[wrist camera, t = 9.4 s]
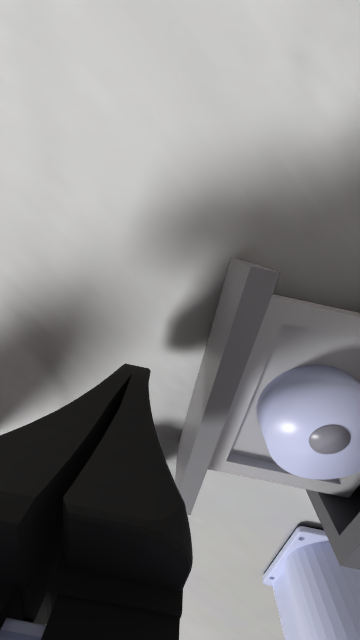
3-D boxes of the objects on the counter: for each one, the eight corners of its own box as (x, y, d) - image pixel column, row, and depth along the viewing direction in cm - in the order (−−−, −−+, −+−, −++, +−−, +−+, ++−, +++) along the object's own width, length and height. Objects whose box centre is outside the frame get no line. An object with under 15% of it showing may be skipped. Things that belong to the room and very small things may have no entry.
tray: (177, 447, 15) (172, 511, 12) (230, 257, 10) (250, 266, 7) (322, 476, 15) (361, 549, 12) (440, 303, 11) (568, 335, 7)
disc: (293, 457, 13) (310, 495, 11) (235, 403, 12) (243, 435, 10) (382, 411, 11) (420, 446, 10) (325, 344, 10) (355, 367, 8)
